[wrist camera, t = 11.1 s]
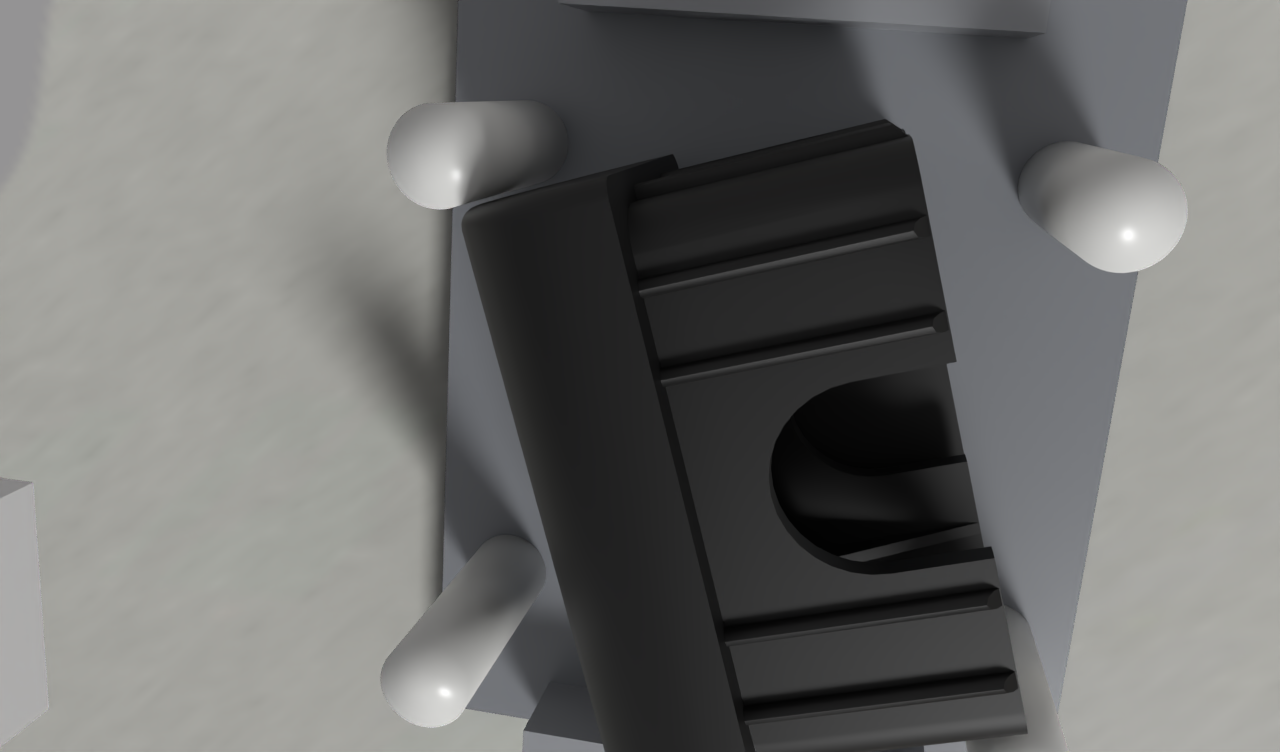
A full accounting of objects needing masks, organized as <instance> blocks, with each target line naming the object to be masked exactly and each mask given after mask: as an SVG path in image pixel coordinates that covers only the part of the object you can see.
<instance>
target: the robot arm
mask: <svg viewBox="0 0 1280 752" xmlns="http://www.w3.org/2000/svg"><path fill="white" fill-rule="evenodd" d="M48 709H49V700H48V686H47V671H46V657H45V643H44V628H43V614H42V599H41V585H40V570H39V556H38V541H37V527H36V512H35V498H34V483H33V482H28V481H20V480H13V479H5V478H0V747H1V746H3V745H4V744H5V743H7V742H8V741H9V740H10V739H12V738H13V737H14V736H15V735H17V734H18V733H19V732H21V731H22V730H23V729H24V728H26V727H27V726H28V725H29V724H31V723H32V722H33V721H34V720H36V719H37V718H38V717H40V716H41V715H42V714H43V713H45V712H46V711H47V710H48Z"/></svg>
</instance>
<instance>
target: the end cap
mask: <svg viewBox="0 0 1280 752" xmlns="http://www.w3.org/2000/svg"><path fill="white" fill-rule="evenodd" d="M461 227H462V233H463V236H464V240H465V244H466V247H467V251H468V255H469V258H470V262H471V265H472V269H473V273H474V276H475V280H476V284H477V287H478V291H479V295H480V298H481V302H482V306H483V309H484V313H485V317H486V320H487V324H488V327H489V331H490V335H491V338H492V342H493V346H494V349H495V353H496V357H497V360H498V364H499V368H500V371H501V375H502V379H503V382H504V386H505V389H506V393H507V397H508V400H509V404H510V408H511V411H512V415H513V419H514V422H515V426H516V430H517V433H518V437H519V441H520V444H521V448H522V451H523V455H524V459H525V462H526V466H527V470H528V473H529V477H530V481H531V484H532V488H533V492H534V495H535V499H536V503H537V506H538V510H539V513H540V517H541V521H542V524H543V528H544V532H545V535H546V539H547V543H548V546H549V550H550V554H551V557H552V561H553V565H554V568H555V572H556V575H557V579H558V583H559V586H560V590H561V594H562V597H563V601H564V605H565V608H566V612H567V616H568V619H569V623H570V627H571V630H572V634H573V637H574V641H575V645H576V648H577V652H578V656H579V659H580V663H581V667H582V670H583V674H584V678H585V681H586V685H587V689H588V692H589V696H590V699H591V703H592V707H593V710H594V714H595V718H596V721H597V725H598V729H599V732H600V736H601V740H602V743H603V747H604V751H605V752H874V751H882V750H891V749H900V748H909V747H918V746H926V745H935V744H944V743H953V742H961V741H970V740H979V739H988V738H996V737H1005V736H1014V735H1023V734H1028V729H1027V723H1026V718H1025V712H1024V707H1023V702H1022V697H1021V692H1020V686H1019V681H1018V676H1017V671H1016V666H1015V661H1014V655H1013V650H1012V645H1011V640H1010V635H1009V629H1008V624H1007V619H1006V614H1005V609H1004V604H1003V598H1002V593H1001V588H1000V583H999V578H998V573H997V567H996V562H995V557H994V554H993V550H992V547H991V546H990V547H984V545H983V540H982V535H981V530H980V525H979V519H978V514H977V509H976V504H975V499H974V494H973V489H972V483H971V478H970V473H969V468H968V463H967V459H966V455H965V454H964V451H963V446H962V440H961V435H960V430H959V425H958V420H957V415H956V410H955V404H954V399H953V394H952V389H951V384H950V379H949V374H948V369H947V364H949V363H954V362H957V360H956V355H955V350H954V345H953V339H952V334H951V329H950V324H949V319H948V314H947V308H946V303H945V298H944V293H943V288H942V283H941V277H940V272H939V267H938V262H937V257H936V251H935V246H934V241H933V236H932V231H931V226H930V220H929V215H928V210H927V205H926V200H925V194H924V189H923V184H922V179H921V174H920V169H919V165H918V160H917V155H916V151H915V147H914V143H913V139H912V137H911V136H910V135H909V134H906V132H905V130H904V129H900V128H899V127H897V126H896V125H894V124H893V123H891V122H890V121H888V120H886V119H883V120H878V121H874V122H870V123H866V124H862V125H858V126H854V127H850V128H845V129H841V130H837V131H833V132H829V133H825V134H821V135H817V136H812V137H808V138H804V139H800V140H796V141H792V142H788V143H784V144H780V145H775V146H771V147H767V148H763V149H759V150H755V151H751V152H747V153H742V154H738V155H734V156H730V157H726V158H722V159H718V160H714V161H709V162H705V163H701V164H697V165H693V166H689V167H685V168H681V169H679V168H678V164H677V161H676V159H675V157H674V155H673V154H670V155H666V156H662V157H658V158H654V159H650V160H646V161H642V162H638V163H634V164H630V165H626V166H622V167H618V168H614V169H610V170H606V171H602V172H598V173H594V174H591V175H587V176H583V177H579V178H575V179H571V180H567V181H563V182H559V183H556V184H552V185H548V186H544V187H540V188H536V189H533V190H529V191H525V192H521V193H518V194H514V195H510V196H506V197H503V198H499V199H496V200H492V201H489V202H485V203H482V204H479V205H476V206H474V207H472V208H470V209H469V210H468V211H467V212H466V213H465V215H464V216H463V218H462V223H461Z"/></svg>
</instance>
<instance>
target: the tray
mask: <svg viewBox="0 0 1280 752" xmlns="http://www.w3.org/2000/svg"><path fill="white" fill-rule="evenodd" d="M1186 5H1187V0H458V24H457V62H456V100H455V102H442V103H426V104H422V105H418V106H416V107H414V108H412V109H410V110H409V111H407V112H406V113H405V114H403V115H402V116H401V117H400V119H399V120H398V121H397V122H396V124H395V125H394V127H393V129H392V131H391V133H390V136H389V140H388V145H387V161H388V167H389V170H390V173H391V176H392V178H393V180H394V182H395V184H396V185H397V187H398V188H399V189H400V191H401V192H402V193H403V194H404V195H405V196H406V197H408V198H409V199H410V200H411V201H413V202H415V203H416V204H418V205H421V206H423V207H426V208H430V209H449V208H453V213H452V250H451V288H450V326H449V363H448V401H447V439H446V476H445V514H444V552H443V590H442V593H441V594H440V596H439V597H438V598H437V599H436V600H435V602H434V603H433V604H432V605H431V606H430V608H429V609H428V610H427V611H426V612H425V614H424V615H423V616H422V617H421V618H420V620H419V621H418V622H417V623H416V624H415V625H414V627H413V628H412V629H411V630H410V631H409V633H408V634H407V635H406V636H405V637H404V639H403V640H402V641H401V642H400V643H399V645H398V646H397V647H396V648H395V649H394V650H393V652H392V653H391V654H390V655H389V657H388V658H387V659H386V661H385V663H384V665H383V667H382V671H381V687H382V691H383V694H384V696H385V699H386V701H387V702H388V704H389V705H390V707H391V708H392V709H393V710H394V711H395V712H396V713H397V714H398V715H399V716H400V717H402V718H403V719H405V720H406V721H408V722H410V723H412V724H415V725H418V726H422V727H429V728H432V727H441V726H444V725H447V724H449V723H451V722H453V721H454V720H456V719H457V718H458V717H459V716H460V715H461V714H462V712H463V711H464V709H471V710H477V711H483V712H489V713H495V714H501V715H507V716H513V717H519V718H525V719H529V721H528V723H527V725H526V727H525V729H524V731H523V751H522V752H605V751H604V747H603V743H602V740H601V736H600V732H599V729H598V725H597V721H596V718H595V714H594V710H593V707H592V703H591V699H590V696H589V692H588V689H587V685H586V681H585V678H584V674H583V670H582V667H581V663H580V659H579V656H578V652H577V648H576V645H575V641H574V637H573V634H572V630H571V627H570V623H569V619H568V616H567V612H566V608H565V605H564V601H563V597H562V594H561V590H560V586H559V583H558V579H557V575H556V572H555V568H554V565H553V561H552V557H551V554H550V550H549V546H548V543H547V539H546V535H545V532H544V528H543V524H542V521H541V517H540V513H539V510H538V506H537V503H536V499H535V495H534V492H533V488H532V484H531V481H530V477H529V473H528V470H527V466H526V462H525V459H524V455H523V451H522V448H521V444H520V441H519V437H518V433H517V430H516V426H515V422H514V419H513V415H512V411H511V408H510V404H509V400H508V397H507V393H506V389H505V386H504V382H503V379H502V375H501V371H500V368H499V364H498V360H497V357H496V353H495V349H494V346H493V342H492V338H491V335H490V331H489V327H488V324H487V320H486V317H485V313H484V309H483V306H482V302H481V298H480V295H479V291H478V287H477V284H476V280H475V276H474V273H473V269H472V265H471V262H470V258H469V255H468V251H467V247H466V244H465V240H464V236H463V233H462V227H461V223H462V218H463V216H464V215H465V213H466V212H467V211H468V210H469V209H470V208H472V207H474V206H476V205H479V204H482V203H485V202H489V201H492V200H496V199H499V198H503V197H506V196H510V195H514V194H518V193H521V192H525V191H529V190H533V189H536V188H540V187H544V186H548V185H552V184H556V183H559V182H563V181H567V180H571V179H575V178H579V177H583V176H587V175H591V174H594V173H598V172H602V171H606V170H610V169H614V168H618V167H622V166H626V165H630V164H634V163H638V162H642V161H646V160H650V159H654V158H658V157H662V156H666V155H670V154H673V155H674V157H675V159H676V161H677V164H678V168H679V169H681V168H685V167H689V166H693V165H697V164H701V163H705V162H709V161H714V160H718V159H722V158H726V157H730V156H734V155H738V154H742V153H747V152H751V151H755V150H759V149H763V148H767V147H771V146H775V145H780V144H784V143H788V142H792V141H796V140H800V139H804V138H808V137H812V136H817V135H821V134H825V133H829V132H833V131H837V130H841V129H845V128H850V127H854V126H858V125H862V124H866V123H870V122H874V121H878V120H883V119H886V120H888V121H890V122H891V123H893V124H894V125H896V126H897V127H899V128H900V129H904V130H905V132H906V134H909V135H910V136H911V137H912V139H913V143H914V147H915V151H916V155H917V160H918V165H919V169H920V174H921V179H922V184H923V189H924V194H925V200H926V205H927V210H928V215H929V220H930V226H931V231H932V236H933V241H934V246H935V251H936V257H937V262H938V267H939V272H940V277H941V283H942V288H943V293H944V298H945V303H946V308H947V314H948V319H949V324H950V329H951V334H952V339H953V345H954V350H955V355H956V360H957V362H954V363H949V364H947V369H948V374H949V379H950V384H951V389H952V394H953V399H954V404H955V410H956V415H957V420H958V425H959V430H960V435H961V440H962V446H963V451H964V454H965V455H966V459H967V463H968V468H969V473H970V478H971V483H972V489H973V494H974V499H975V504H976V509H977V514H978V519H979V525H980V530H981V535H982V540H983V545H984V547H990V546H991V547H992V550H993V554H994V557H995V562H996V567H997V573H998V578H999V583H1000V588H1001V593H1002V598H1003V604H1004V609H1005V614H1006V619H1007V624H1008V629H1009V635H1010V640H1011V645H1012V650H1013V655H1014V661H1015V666H1016V671H1017V676H1018V681H1019V686H1020V692H1021V697H1022V702H1023V707H1024V712H1025V718H1026V723H1027V729H1028V734H1023V735H1014V736H1005V737H996V738H988V739H979V740H970V741H961V742H953V743H944V744H935V745H926V746H918V747H909V748H900V749H891V750H882V751H874V752H1069V750H1068V746H1067V743H1066V740H1065V737H1064V734H1063V730H1062V727H1061V724H1060V721H1059V718H1058V710H1059V704H1060V699H1061V693H1062V688H1063V682H1064V677H1065V671H1066V666H1067V660H1068V655H1069V649H1070V644H1071V638H1072V633H1073V627H1074V622H1075V616H1076V611H1077V605H1078V600H1079V594H1080V589H1081V583H1082V578H1083V572H1084V567H1085V561H1086V556H1087V550H1088V545H1089V539H1090V534H1091V528H1092V523H1093V517H1094V512H1095V506H1096V501H1097V495H1098V490H1099V484H1100V479H1101V473H1102V468H1103V462H1104V457H1105V451H1106V446H1107V440H1108V435H1109V429H1110V423H1111V418H1112V412H1113V407H1114V401H1115V396H1116V390H1117V385H1118V379H1119V374H1120V368H1121V363H1122V357H1123V352H1124V346H1125V341H1126V335H1127V330H1128V324H1129V319H1130V313H1131V308H1132V302H1133V297H1134V291H1135V286H1136V280H1137V275H1138V271H1139V270H1142V269H1145V268H1148V267H1150V266H1152V265H1154V264H1156V263H1157V262H1159V261H1160V260H1162V259H1163V258H1164V257H1165V256H1167V255H1168V254H1169V253H1170V252H1171V251H1172V250H1173V248H1174V247H1175V246H1176V244H1177V243H1178V241H1179V240H1180V238H1181V236H1182V234H1183V232H1184V229H1185V226H1186V222H1187V215H1188V205H1187V199H1186V195H1185V192H1184V190H1183V187H1182V185H1181V183H1180V182H1179V181H1178V179H1177V178H1176V177H1175V175H1174V174H1173V173H1172V172H1171V171H1170V170H1168V169H1167V168H1166V167H1164V166H1163V165H1161V164H1159V163H1158V159H1159V154H1160V148H1161V143H1162V137H1163V132H1164V126H1165V121H1166V115H1167V110H1168V104H1169V99H1170V93H1171V88H1172V82H1173V77H1174V71H1175V66H1176V60H1177V55H1178V49H1179V44H1180V38H1181V33H1182V27H1183V22H1184V16H1185V11H1186Z"/></svg>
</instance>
